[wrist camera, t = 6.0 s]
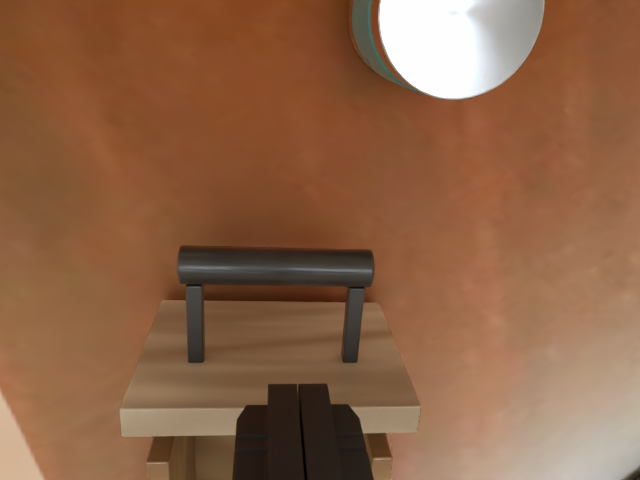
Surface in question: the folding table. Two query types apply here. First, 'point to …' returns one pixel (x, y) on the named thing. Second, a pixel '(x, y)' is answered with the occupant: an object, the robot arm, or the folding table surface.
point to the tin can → (445, 42)
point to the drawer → (262, 357)
